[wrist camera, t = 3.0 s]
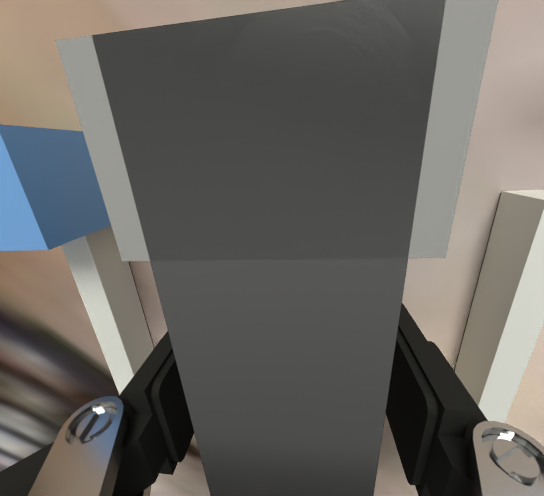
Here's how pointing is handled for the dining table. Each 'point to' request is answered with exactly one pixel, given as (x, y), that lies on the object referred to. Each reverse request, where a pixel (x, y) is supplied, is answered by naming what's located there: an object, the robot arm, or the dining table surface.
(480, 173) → the dining table surface
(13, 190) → the white blue-tipped sticks
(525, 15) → the dining table surface
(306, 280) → the dark grey rectangular block
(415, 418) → the robot arm
